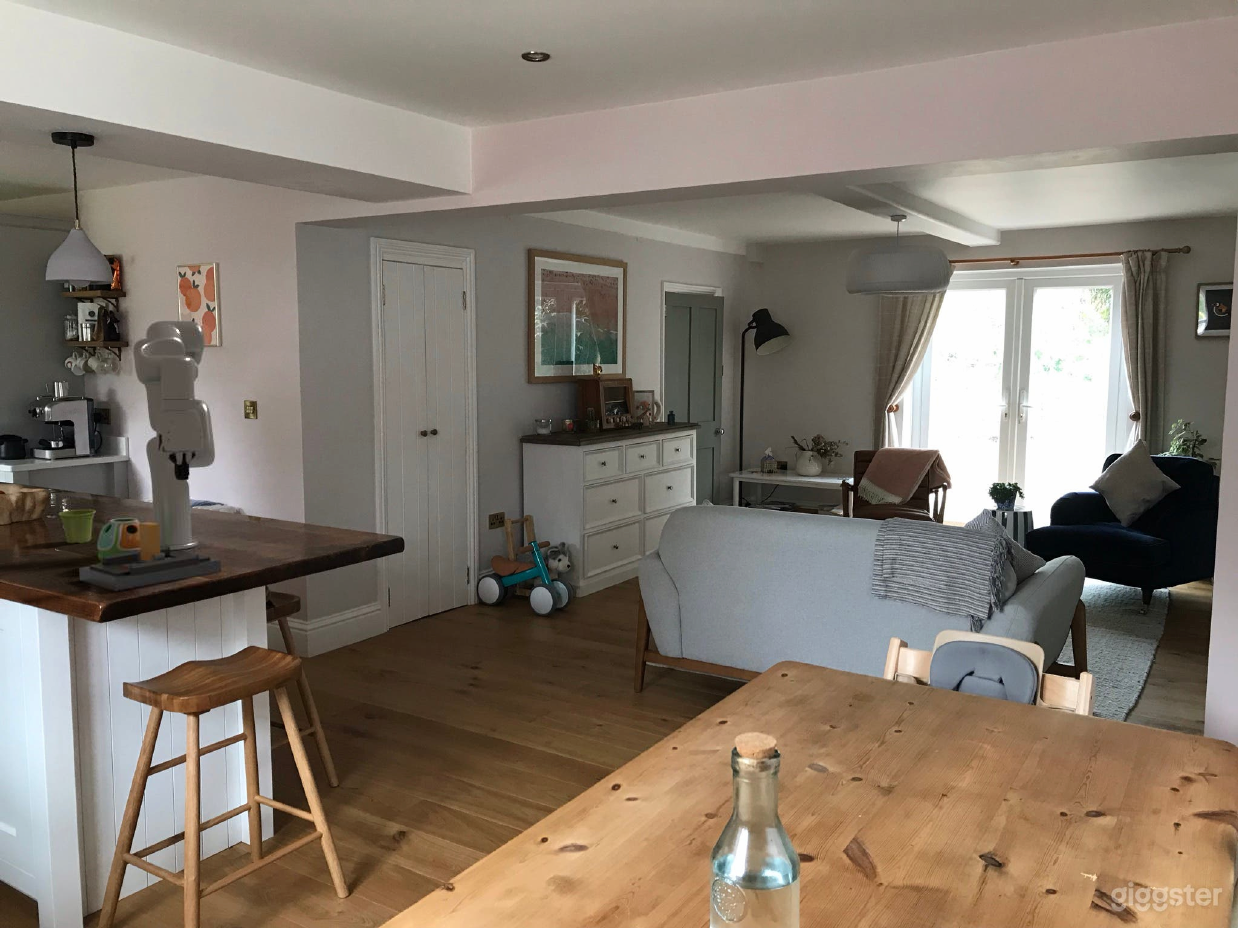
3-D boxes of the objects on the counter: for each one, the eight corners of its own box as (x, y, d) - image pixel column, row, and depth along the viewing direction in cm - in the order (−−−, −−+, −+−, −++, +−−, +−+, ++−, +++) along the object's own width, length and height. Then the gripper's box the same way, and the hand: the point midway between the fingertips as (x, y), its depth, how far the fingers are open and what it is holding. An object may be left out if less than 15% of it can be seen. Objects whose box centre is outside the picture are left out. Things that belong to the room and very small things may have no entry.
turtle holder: (131, 555, 266) (128, 512, 265) (161, 564, 254) (159, 519, 253) (82, 563, 257) (79, 517, 255) (112, 573, 245) (109, 525, 244)
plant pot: (104, 540, 287) (102, 510, 286) (75, 545, 279) (73, 515, 278) (82, 537, 291) (81, 508, 290) (53, 543, 283) (51, 513, 282)
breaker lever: (140, 559, 242) (138, 522, 241) (149, 558, 244) (147, 521, 243) (152, 562, 238) (150, 525, 237) (161, 561, 240) (159, 524, 239)
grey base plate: (79, 580, 237) (78, 555, 236) (183, 562, 257) (182, 539, 257) (115, 591, 226) (114, 565, 225) (220, 571, 246) (219, 547, 246)
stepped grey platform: (94, 564, 240) (94, 557, 240) (166, 552, 254) (166, 546, 254) (134, 575, 228) (133, 568, 228) (207, 562, 242) (206, 555, 242)
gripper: (199, 404, 252) (202, 475, 254) (141, 407, 240) (145, 481, 242) (215, 405, 248) (218, 477, 250) (156, 408, 236) (160, 483, 238)
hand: (182, 479), depth 246 cm, fingers closed
